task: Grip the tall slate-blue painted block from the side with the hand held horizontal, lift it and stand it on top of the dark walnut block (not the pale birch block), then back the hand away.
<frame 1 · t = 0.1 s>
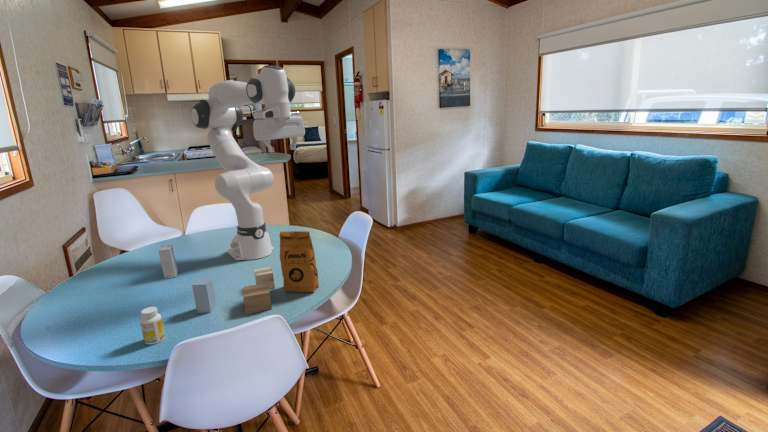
hand: (282, 150, 148), 48 cm above the table, tool pointing down, fingers open, 8 cm apart
slate block: (207, 309, 132), on the table
birch block: (265, 286, 148), on the table
walnut block: (258, 306, 133), on the table
supplement bottle: (155, 340, 115), on the table
coffee package: (302, 289, 144), on the table
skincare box: (171, 275, 162), on the table
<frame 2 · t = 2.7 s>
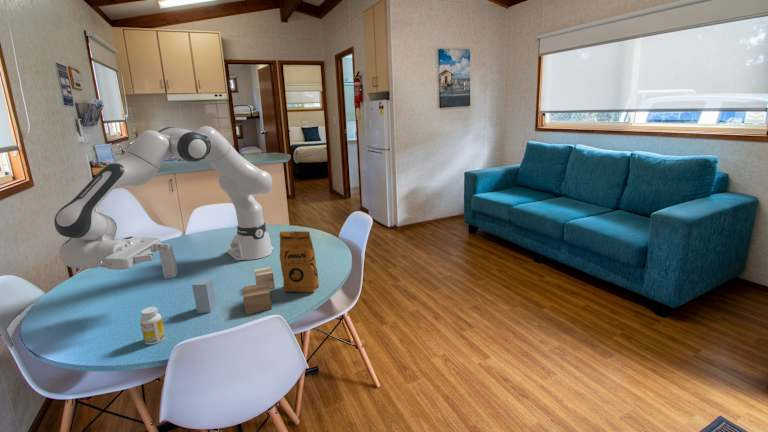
hand: (160, 252, 127), 21 cm above the table, tool horizontal, fingers open, 8 cm apart
nothing on the table moved.
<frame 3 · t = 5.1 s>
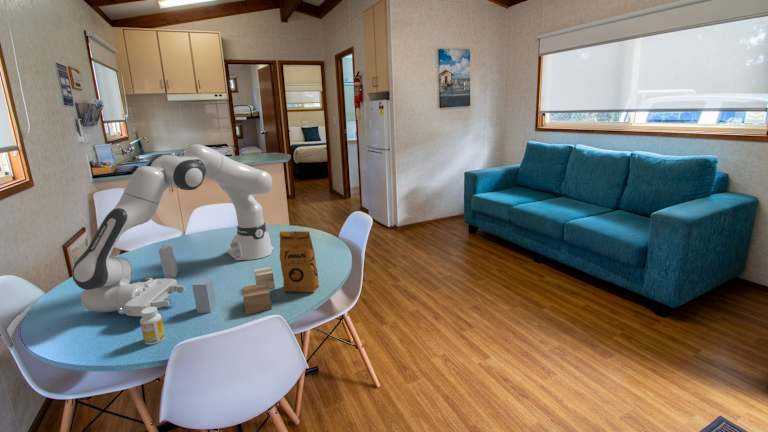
hand: (176, 295, 131), 5 cm above the table, tool horizontal, fingers open, 8 cm apart
nothing on the table moved.
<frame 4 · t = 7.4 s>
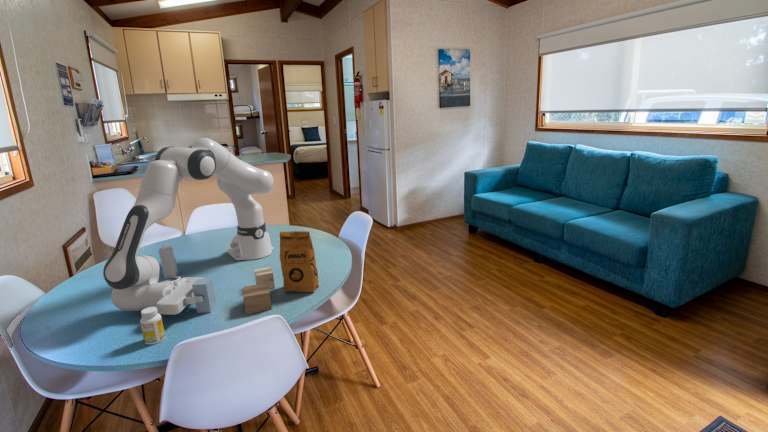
hand: (207, 294, 131), 6 cm above the table, tool horizontal, fingers closed on slate block, 4 cm apart
slate block: (207, 309, 132), on the table, touching gripper
everything else where it was.
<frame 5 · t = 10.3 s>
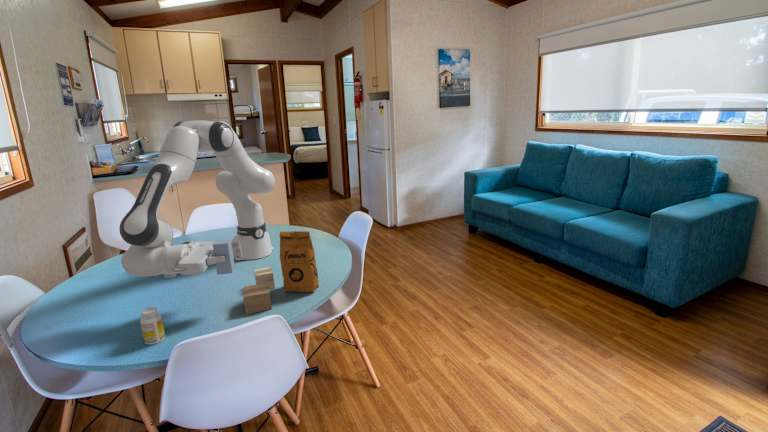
hand: (226, 254, 127), 19 cm above the table, tool horizontal, fingers closed on slate block, 4 cm apart
slate block: (226, 271, 128), point 13 cm above the table, touching gripper
everything else where it was.
when the fingers open (12 cm above the table, at t = 13.1 s): slate block stays where it is, resting on walnut block.
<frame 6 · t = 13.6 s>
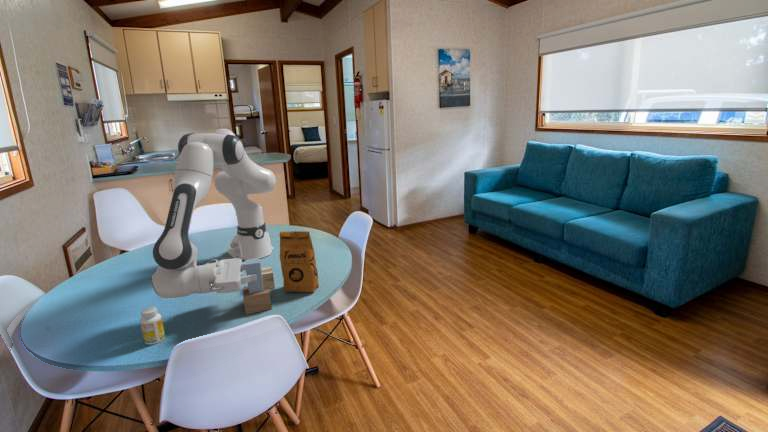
hand: (256, 270, 130), 12 cm above the table, tool horizontal, fingers open, 8 cm apart
slate block: (256, 289, 131), point 6 cm above the table, touching walnut block
everything else where it was.
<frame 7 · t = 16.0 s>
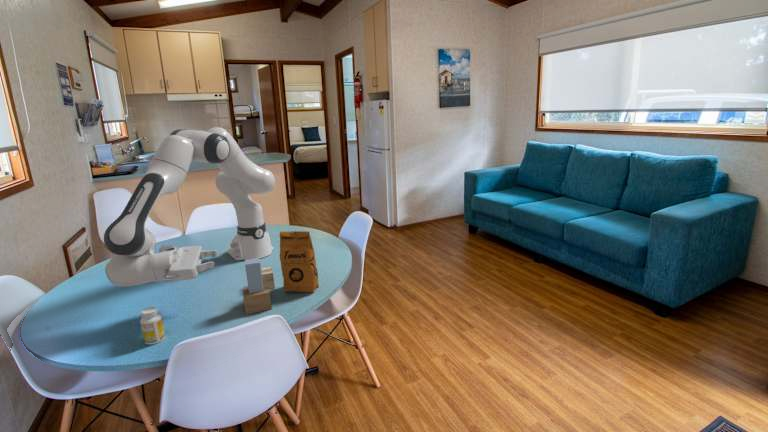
hand: (215, 258, 128), 18 cm above the table, tool horizontal, fingers open, 8 cm apart
nothing on the table moved.
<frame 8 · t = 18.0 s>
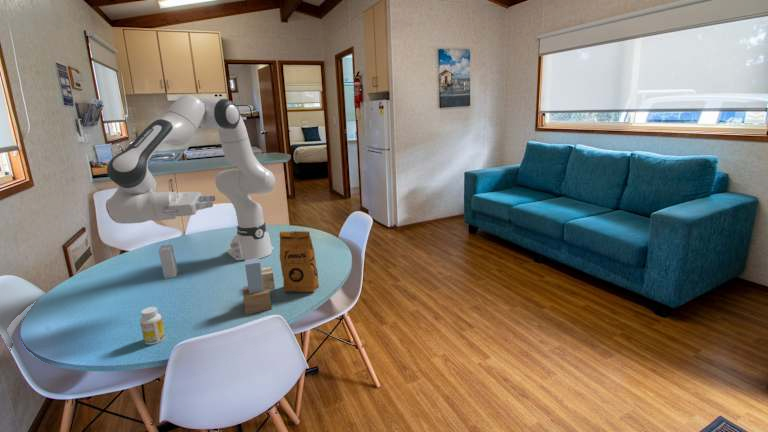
hand: (214, 200, 130), 35 cm above the table, tool horizontal, fingers open, 8 cm apart
nothing on the table moved.
at the end: slate block inside the target area on the walnut block (0.0 cm from its centre), point 6.0 cm above the walnut block's base; slate block tilted 0°; the gripper is holding nothing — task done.
